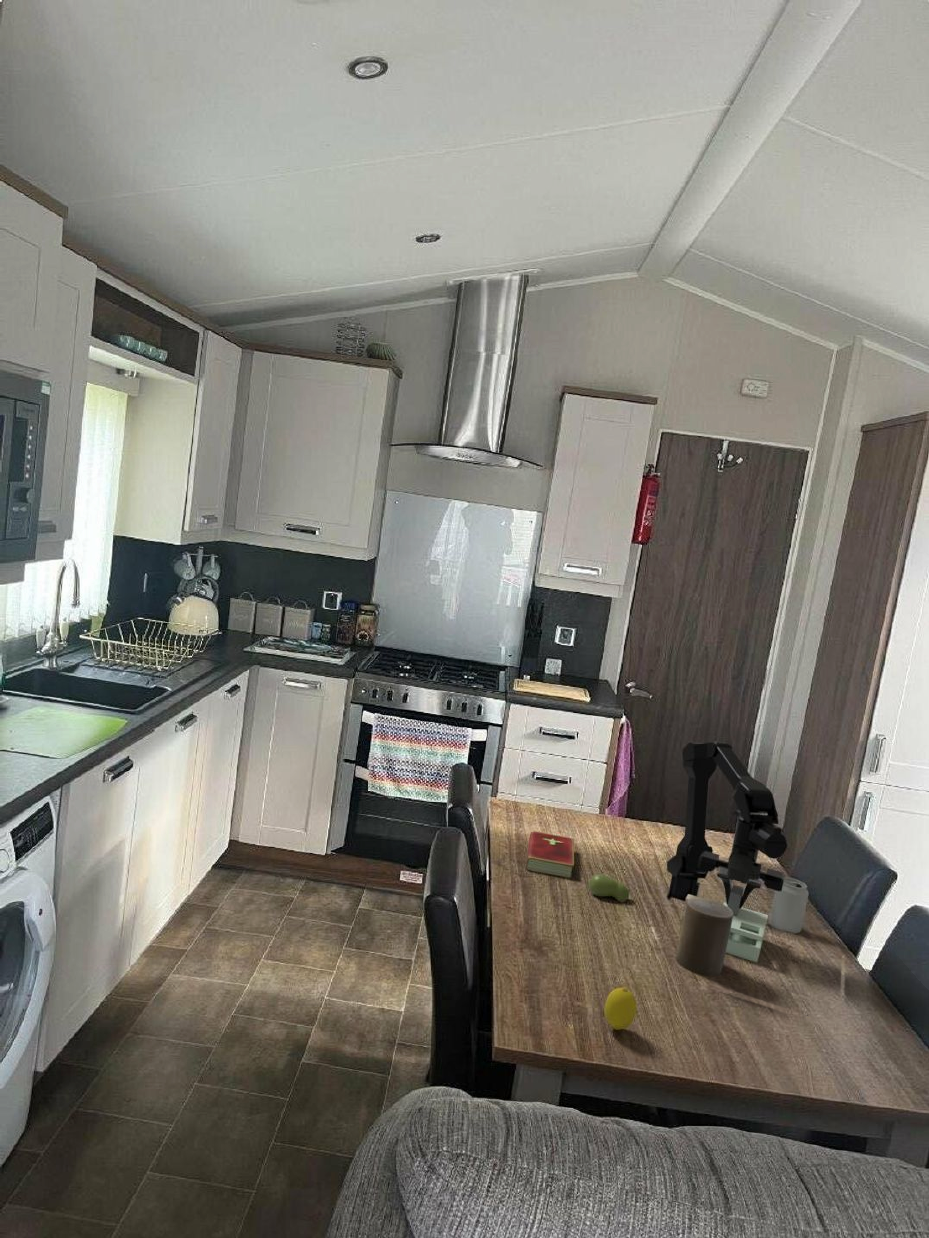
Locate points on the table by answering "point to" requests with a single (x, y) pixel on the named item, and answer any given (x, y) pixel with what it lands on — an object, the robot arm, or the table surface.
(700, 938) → the pillar candle
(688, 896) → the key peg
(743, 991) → the table surface
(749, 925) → the green slotted base
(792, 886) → the can
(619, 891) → the pear
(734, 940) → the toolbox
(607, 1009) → the lemon
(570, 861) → the hardcover book
